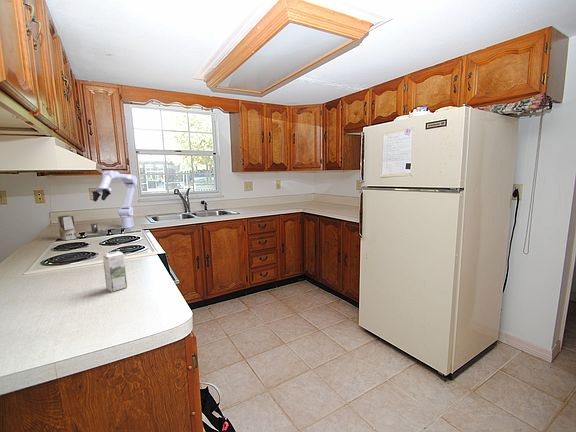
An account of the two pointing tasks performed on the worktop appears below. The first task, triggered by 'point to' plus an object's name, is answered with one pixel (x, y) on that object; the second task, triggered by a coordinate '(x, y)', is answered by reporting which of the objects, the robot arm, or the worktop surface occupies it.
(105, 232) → the lower end link
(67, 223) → the coffee box
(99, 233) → the upper end link
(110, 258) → the syrup box
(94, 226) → the pin
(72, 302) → the worktop surface
